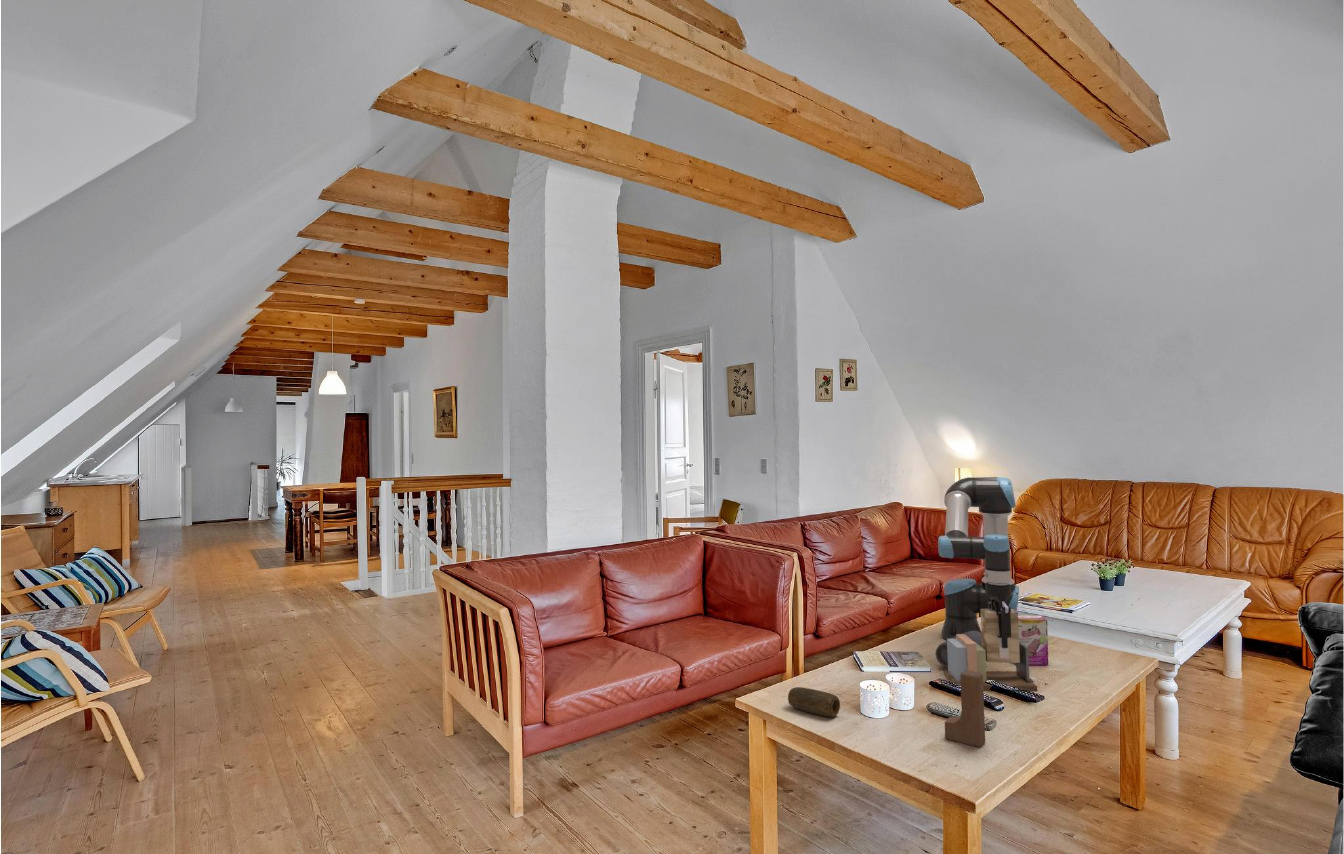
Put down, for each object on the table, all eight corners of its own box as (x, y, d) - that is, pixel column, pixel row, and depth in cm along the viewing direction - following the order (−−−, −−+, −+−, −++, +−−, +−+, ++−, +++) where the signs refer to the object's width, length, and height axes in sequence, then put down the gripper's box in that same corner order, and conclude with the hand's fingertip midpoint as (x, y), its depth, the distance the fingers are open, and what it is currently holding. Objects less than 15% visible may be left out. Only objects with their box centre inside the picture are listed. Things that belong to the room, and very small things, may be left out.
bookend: (1016, 674, 220) (1015, 640, 220) (1022, 674, 220) (1021, 640, 220) (1027, 682, 212) (1025, 647, 212) (1033, 682, 212) (1032, 647, 212)
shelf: (944, 675, 225) (944, 670, 225) (1018, 675, 223) (1018, 671, 223) (958, 689, 211) (957, 685, 211) (1037, 690, 209) (1037, 686, 209)
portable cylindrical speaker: (843, 714, 194) (842, 690, 195) (832, 722, 189) (831, 698, 189) (796, 702, 204) (796, 680, 204) (785, 710, 198) (785, 687, 198)
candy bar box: (1016, 665, 233) (1014, 618, 233) (1010, 661, 238) (1008, 614, 238) (1049, 666, 232) (1047, 618, 232) (1043, 661, 237) (1041, 614, 237)
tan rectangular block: (982, 657, 219) (980, 608, 220) (1014, 658, 218) (1012, 608, 219) (987, 662, 215) (985, 612, 215) (1020, 662, 214) (1017, 612, 214)
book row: (948, 671, 224) (946, 634, 224) (975, 671, 223) (974, 634, 223) (958, 682, 213) (957, 643, 213) (988, 683, 212) (986, 643, 212)
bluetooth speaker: (961, 674, 225) (959, 644, 225) (934, 668, 232) (933, 639, 232) (990, 659, 240) (989, 631, 240) (964, 654, 247) (963, 626, 247)
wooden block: (944, 738, 176) (942, 670, 177) (950, 733, 180) (947, 665, 180) (980, 748, 171) (978, 677, 171) (985, 741, 174) (983, 672, 175)
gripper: (976, 577, 227) (979, 647, 226) (996, 588, 209) (999, 663, 208) (999, 577, 226) (1002, 647, 225) (1021, 588, 208) (1024, 663, 208)
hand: (1000, 654), depth 217 cm, fingers closed on tan rectangular block, 4 cm apart
